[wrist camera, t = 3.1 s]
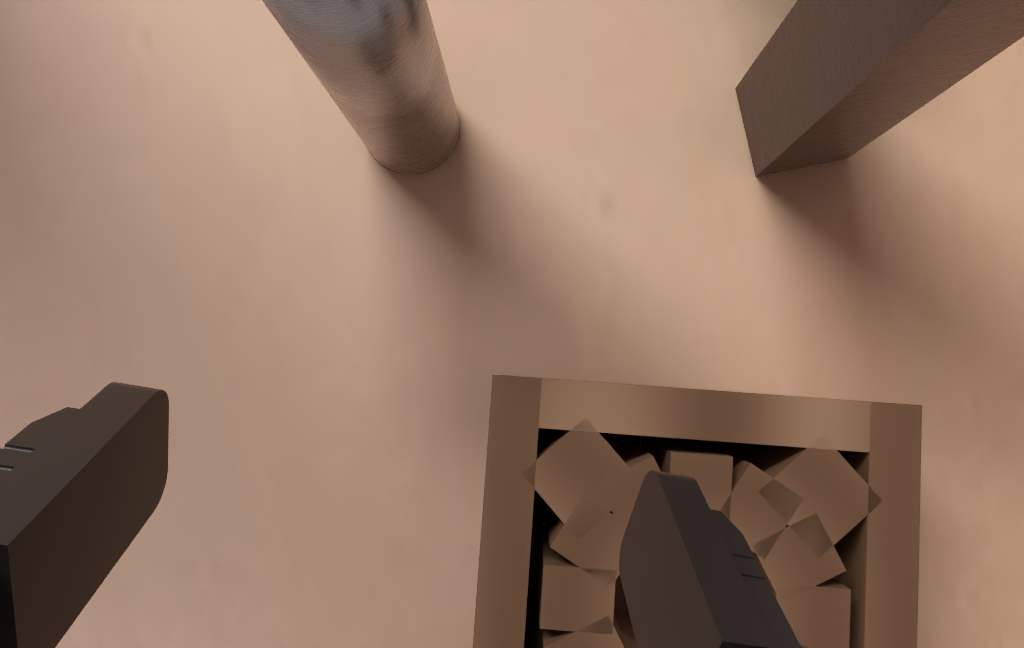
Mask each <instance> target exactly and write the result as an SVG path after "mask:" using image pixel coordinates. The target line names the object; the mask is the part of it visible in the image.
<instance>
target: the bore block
mask: <svg viewBox="0 0 1024 648" xmlns="http://www.w3.org/2000/svg"><path fill="white" fill-rule="evenodd" d="M921 427H922V405H909V404H895V403H881V402H867V401H853V400H839V399H825V398H811V397H797V396H783V395H769V394H755V393H741V392H727V391H713V390H699V389H685V388H671V387H657V386H643V385H629V384H615V383H601V382H587V381H573V380H559V379H545V378H531V377H516V376H502V375H493V379H492V393H491V406H490V420H489V434H488V447H487V461H486V475H485V488H484V502H483V515H482V529H481V543H480V556H479V570H478V584H477V597H476V611H475V625H474V638H473V648H637V644H636V640H635V635H634V631H633V627H632V623H631V619H630V616H629V615H628V614H626V613H625V612H623V611H622V610H620V609H619V608H618V607H616V606H615V605H614V598H615V581H616V579H617V578H618V576H619V574H620V572H619V555H620V548H621V543H622V539H623V536H624V533H625V530H626V527H627V525H628V522H629V519H630V516H631V513H632V510H633V507H634V505H635V502H636V499H637V496H638V493H639V490H640V488H641V485H642V482H643V479H644V477H645V475H646V474H647V473H648V472H649V471H651V470H654V471H660V472H666V473H672V474H678V475H684V476H690V477H693V478H695V479H696V481H697V483H698V485H699V487H700V489H701V491H702V493H703V495H704V497H705V499H706V502H707V504H708V506H709V508H710V509H712V510H718V511H721V512H722V513H723V514H724V515H725V516H726V517H727V518H728V519H729V520H730V521H731V522H732V523H733V524H734V525H735V526H736V527H737V528H738V529H739V530H740V531H741V532H742V534H743V535H744V537H745V539H746V541H747V543H748V545H749V547H750V549H751V551H752V553H753V555H754V557H755V562H758V564H759V566H760V568H761V570H762V572H763V574H764V576H765V583H768V584H769V586H770V588H771V589H772V591H773V593H774V595H775V597H776V599H777V601H778V603H779V605H780V607H781V609H782V611H783V613H784V615H785V617H786V618H787V620H788V622H789V624H790V626H791V628H792V630H793V632H794V634H795V636H796V638H797V640H798V642H799V644H800V645H801V647H802V648H917V618H918V570H919V523H920V475H921ZM539 428H546V429H550V430H549V431H548V432H547V433H546V434H545V435H543V436H542V437H541V438H540V439H539V440H538V429H539ZM599 432H600V433H614V434H627V435H641V446H640V447H639V446H637V445H635V444H634V443H632V442H631V441H629V440H628V439H626V440H624V441H622V442H620V443H618V444H616V445H614V446H612V447H611V446H610V445H609V444H608V442H607V441H606V440H605V439H604V438H603V437H602V436H601V434H600V433H599ZM643 436H654V437H643ZM657 437H668V438H657ZM671 438H681V439H671ZM684 439H695V440H708V441H722V442H735V443H736V444H735V445H734V446H733V447H732V448H731V449H729V450H728V451H727V452H726V453H724V452H721V451H718V450H716V449H713V448H711V447H708V446H705V445H701V444H699V443H696V442H694V441H691V440H684ZM534 489H535V490H536V491H537V492H538V494H539V495H540V496H541V497H542V498H543V500H544V501H545V502H546V503H547V504H548V505H549V506H548V508H547V509H546V518H547V525H541V532H540V547H539V562H538V597H539V619H538V620H537V621H536V622H535V623H533V624H532V625H531V626H530V627H529V628H528V629H527V630H525V622H526V607H527V592H528V578H529V563H530V548H531V533H532V518H533V503H534Z"/></svg>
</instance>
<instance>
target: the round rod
mask: <svg viewBox="0 0 1024 648" xmlns="http://www.w3.org/2000/svg"><path fill="white" fill-rule="evenodd" d="M262 1H263V2H264V3H265V5H266V6H267V8H268V9H269V10H270V12H271V13H272V15H273V16H274V17H275V19H276V20H277V22H278V23H279V24H280V26H281V27H282V29H283V30H284V31H285V33H286V34H287V36H288V37H289V39H290V40H291V41H292V43H293V44H294V46H295V47H296V48H297V50H298V51H299V53H300V54H301V55H302V57H303V58H304V60H305V61H306V62H307V64H308V65H309V67H310V68H311V69H312V71H313V72H314V74H315V75H316V76H317V78H318V79H319V81H320V82H321V83H322V85H323V86H324V88H325V89H326V90H327V92H328V93H329V95H330V96H331V97H332V99H333V100H334V102H335V103H336V105H337V106H338V107H339V109H340V110H341V112H342V113H343V114H344V116H345V117H346V119H347V120H348V121H349V123H350V124H351V126H352V127H353V128H354V130H355V131H356V133H357V134H358V135H359V137H360V138H361V140H362V141H363V142H364V144H365V145H366V147H367V148H368V149H369V151H370V152H371V154H372V155H373V156H374V158H375V159H376V160H377V161H378V162H379V163H381V164H382V165H383V166H385V167H386V168H388V169H390V170H392V171H395V172H398V173H403V174H418V173H423V172H427V171H429V170H432V169H433V168H435V167H437V166H439V165H440V164H441V163H443V162H444V161H445V160H446V159H447V158H448V156H449V155H450V154H451V153H452V151H453V149H454V147H455V145H456V143H457V140H458V136H459V129H460V123H459V117H458V113H457V109H456V105H455V102H454V98H453V95H452V91H451V87H450V84H449V80H448V77H447V73H446V69H445V66H444V62H443V58H442V55H441V51H440V48H439V44H438V40H437V37H436V33H435V30H434V26H433V22H432V19H431V15H430V12H429V8H428V4H427V1H426V0H262Z"/></svg>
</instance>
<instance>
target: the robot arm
mask: <svg viewBox="0 0 1024 648" xmlns="http://www.w3.org/2000/svg"><path fill="white" fill-rule="evenodd" d="M168 424H169V400H168V396H167V393H166V392H165V391H164V390H159V389H153V388H147V387H141V386H135V385H129V384H123V383H117V382H113V383H110V384H109V385H107V386H106V387H105V388H104V389H102V390H101V391H100V392H99V393H98V394H97V395H96V396H95V397H93V398H92V399H91V400H90V401H89V402H88V403H87V404H85V405H84V406H83V407H82V408H81V409H76V408H69V407H67V408H65V409H62V410H60V411H58V412H55V413H53V414H51V415H48V416H46V417H44V418H41V419H39V420H37V421H34V422H32V423H31V424H29V425H28V426H27V427H26V428H24V429H23V430H22V431H21V432H20V433H18V434H17V435H16V436H15V437H13V438H12V439H11V440H10V441H9V442H7V443H6V444H5V447H4V449H0V648H55V647H56V646H57V644H58V643H59V641H60V640H61V639H62V637H63V636H64V635H65V633H66V632H67V630H68V629H69V628H70V626H71V625H72V624H73V622H74V621H75V619H76V618H77V617H78V615H79V614H80V612H81V611H82V610H83V608H84V607H85V606H86V604H87V603H88V601H89V600H90V599H91V597H92V596H93V595H94V593H95V592H96V590H97V589H98V588H99V586H100V585H101V584H102V582H103V581H104V579H105V578H106V577H107V575H108V574H109V572H110V571H111V570H112V568H113V567H114V566H115V564H116V563H117V561H118V560H119V559H120V557H121V556H122V555H123V553H124V552H125V550H126V549H127V548H128V546H129V545H130V543H131V542H132V541H133V539H134V538H135V537H136V535H137V534H138V532H139V531H140V530H141V528H142V527H143V526H144V524H145V523H146V521H147V520H148V519H149V517H150V516H151V515H152V513H153V512H154V510H155V509H156V507H157V505H158V503H159V501H160V499H161V496H162V494H163V491H164V488H165V484H166V479H167V472H168ZM619 572H620V578H621V582H622V586H623V591H624V595H625V599H626V603H627V607H628V611H629V615H630V619H631V623H632V627H633V631H634V635H635V640H636V644H637V648H802V647H801V645H800V644H799V642H798V640H797V638H796V636H795V634H794V632H793V630H792V628H791V626H790V624H789V622H788V620H787V618H786V617H785V615H784V613H783V611H782V609H781V607H780V605H779V603H778V601H777V599H776V597H775V595H774V593H773V591H772V589H771V588H770V586H769V584H768V583H765V576H764V574H763V572H762V570H761V568H760V566H759V564H758V562H755V557H754V555H753V553H752V551H751V549H750V547H749V545H748V543H747V541H746V539H745V537H744V535H743V534H742V532H741V531H740V530H739V529H738V528H737V527H736V526H735V525H734V524H733V523H732V522H731V521H730V520H729V519H728V518H727V517H726V516H725V515H724V514H723V513H722V512H721V511H718V510H712V509H710V508H709V506H708V504H707V502H706V499H705V497H704V495H703V493H702V491H701V489H700V487H699V485H698V483H697V481H696V479H695V478H693V477H690V476H684V475H678V474H672V473H666V472H660V471H654V470H651V471H649V472H648V473H647V474H646V475H645V477H644V479H643V482H642V485H641V488H640V490H639V493H638V496H637V499H636V502H635V505H634V507H633V510H632V513H631V516H630V519H629V522H628V525H627V527H626V530H625V533H624V536H623V539H622V543H621V548H620V555H619Z"/></svg>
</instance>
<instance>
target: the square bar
mask: <svg viewBox="0 0 1024 648" xmlns="http://www.w3.org/2000/svg"><path fill="white" fill-rule="evenodd" d="M1023 36H1024V0H798V1H797V2H796V4H795V5H794V7H793V8H792V9H791V11H790V12H789V14H788V15H787V16H786V18H785V19H784V21H783V22H782V23H781V25H780V26H779V28H778V29H777V30H776V32H775V33H774V35H773V36H772V38H771V39H770V40H769V42H768V43H767V45H766V46H765V47H764V49H763V50H762V52H761V53H760V54H759V56H758V57H757V59H756V60H755V62H754V63H753V64H752V66H751V67H750V69H749V70H748V71H747V73H746V74H745V76H744V77H743V78H742V80H741V81H740V83H739V84H738V85H737V87H736V92H737V97H738V101H739V105H740V110H741V114H742V118H743V123H744V127H745V131H746V136H747V140H748V144H749V149H750V153H751V157H752V162H753V166H754V170H755V175H756V176H759V175H765V174H770V173H775V172H780V171H785V170H790V169H795V168H800V167H805V166H810V165H815V164H820V163H826V162H831V161H836V160H841V159H846V158H849V157H850V156H851V155H853V154H854V153H856V152H857V151H859V150H860V149H862V148H863V147H864V146H866V145H867V144H869V143H870V142H872V141H873V140H875V139H876V138H877V137H879V136H880V135H882V134H883V133H885V132H886V131H888V130H889V129H890V128H892V127H893V126H895V125H896V124H898V123H899V122H901V121H902V120H903V119H905V118H906V117H908V116H909V115H911V114H912V113H914V112H915V111H916V110H918V109H919V108H921V107H922V106H924V105H925V104H927V103H928V102H929V101H931V100H932V99H934V98H935V97H937V96H938V95H940V94H941V93H942V92H944V91H945V90H947V89H948V88H950V87H951V86H953V85H954V84H955V83H957V82H958V81H960V80H961V79H963V78H964V77H966V76H967V75H969V74H970V73H971V72H973V71H974V70H976V69H977V68H979V67H980V66H982V65H983V64H984V63H986V62H987V61H989V60H990V59H992V58H993V57H995V56H996V55H997V54H999V53H1000V52H1002V51H1003V50H1005V49H1006V48H1008V47H1009V46H1010V45H1012V44H1013V43H1015V42H1016V41H1018V40H1019V39H1021V38H1022V37H1023Z"/></svg>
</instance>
